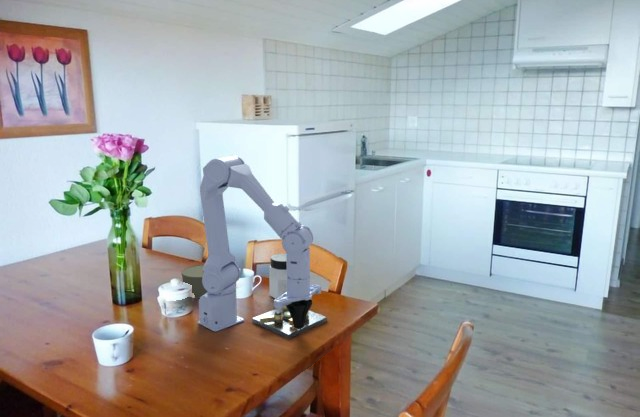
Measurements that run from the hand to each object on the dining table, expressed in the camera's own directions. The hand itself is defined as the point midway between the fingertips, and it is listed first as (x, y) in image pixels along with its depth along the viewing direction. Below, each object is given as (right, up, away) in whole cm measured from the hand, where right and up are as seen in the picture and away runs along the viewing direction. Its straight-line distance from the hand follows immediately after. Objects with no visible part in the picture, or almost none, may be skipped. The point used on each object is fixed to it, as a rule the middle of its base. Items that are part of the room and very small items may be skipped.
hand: (298, 327), depth 128 cm
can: (-31, +4, +29) cm, 43 cm away
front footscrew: (0, +1, +5) cm, 5 cm away
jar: (-5, +3, +26) cm, 27 cm away
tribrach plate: (-3, 0, +8) cm, 8 cm away
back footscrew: (-3, +2, +13) cm, 13 cm away
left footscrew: (-7, 0, +4) cm, 8 cm away
